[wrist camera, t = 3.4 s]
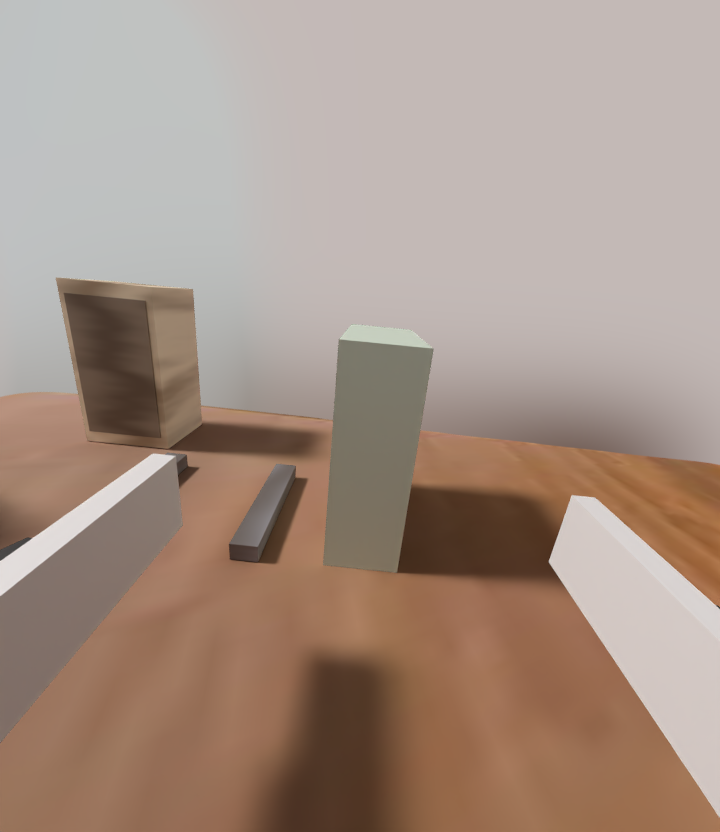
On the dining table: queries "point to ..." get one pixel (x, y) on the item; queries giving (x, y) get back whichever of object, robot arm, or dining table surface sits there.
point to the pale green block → (374, 444)
